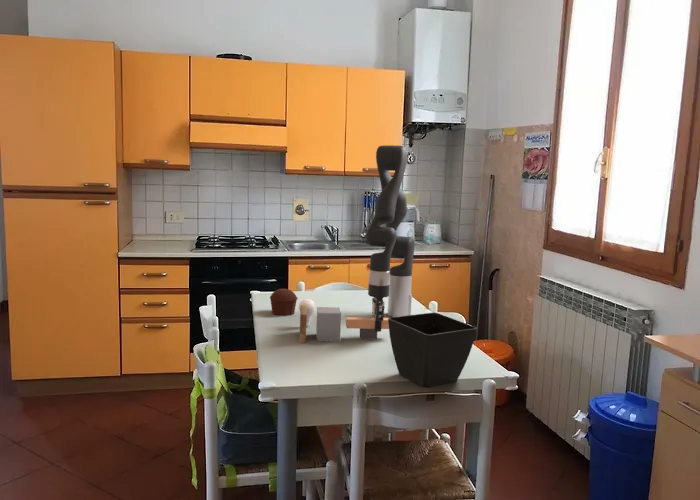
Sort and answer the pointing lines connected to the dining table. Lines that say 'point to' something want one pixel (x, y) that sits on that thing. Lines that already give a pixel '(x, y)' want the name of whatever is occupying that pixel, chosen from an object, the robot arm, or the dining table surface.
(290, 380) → the dining table surface
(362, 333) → the block
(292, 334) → the dining table surface
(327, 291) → the dining table surface
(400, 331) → the flower pot
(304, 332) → the wooden board
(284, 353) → the dining table surface
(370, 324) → the dowel
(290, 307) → the muffin
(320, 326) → the block
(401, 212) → the robot arm
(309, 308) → the lightbulb
